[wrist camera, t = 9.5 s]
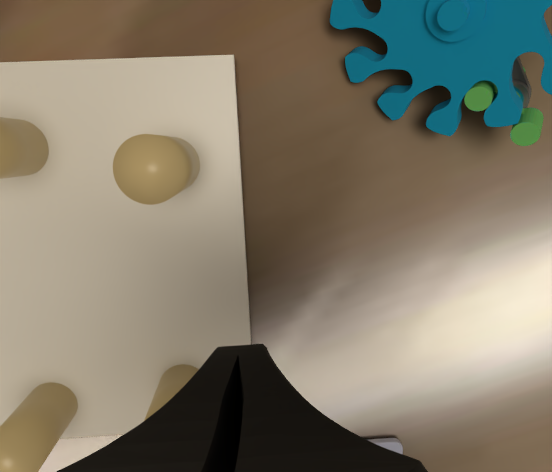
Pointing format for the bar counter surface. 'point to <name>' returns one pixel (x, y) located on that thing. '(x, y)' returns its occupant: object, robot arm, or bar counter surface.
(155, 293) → the tray
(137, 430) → the robot arm
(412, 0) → the gear
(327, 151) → the bar counter surface
